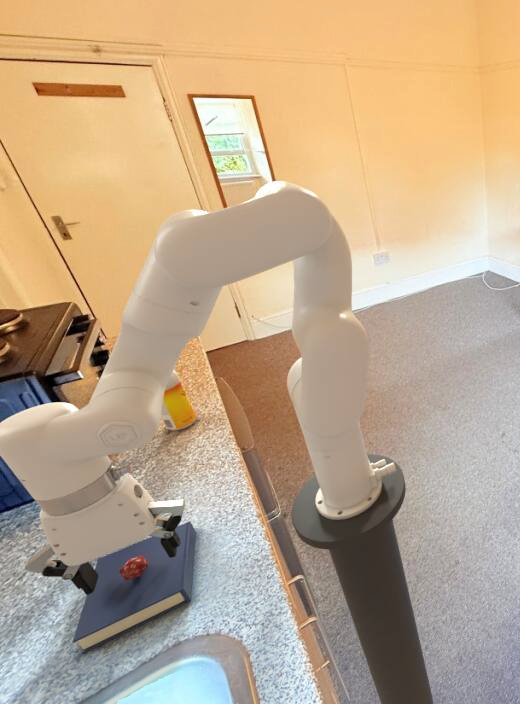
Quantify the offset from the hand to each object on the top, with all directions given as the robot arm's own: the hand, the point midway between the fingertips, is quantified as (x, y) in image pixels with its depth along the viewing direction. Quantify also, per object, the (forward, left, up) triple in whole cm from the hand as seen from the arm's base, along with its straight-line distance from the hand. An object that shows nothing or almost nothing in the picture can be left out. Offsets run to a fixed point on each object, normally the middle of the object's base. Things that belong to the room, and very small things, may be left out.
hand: (135, 567), depth 61 cm
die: (0, 0, -2) cm, 2 cm away
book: (0, 0, -4) cm, 4 cm away
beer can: (-1, -46, -5) cm, 47 cm away
